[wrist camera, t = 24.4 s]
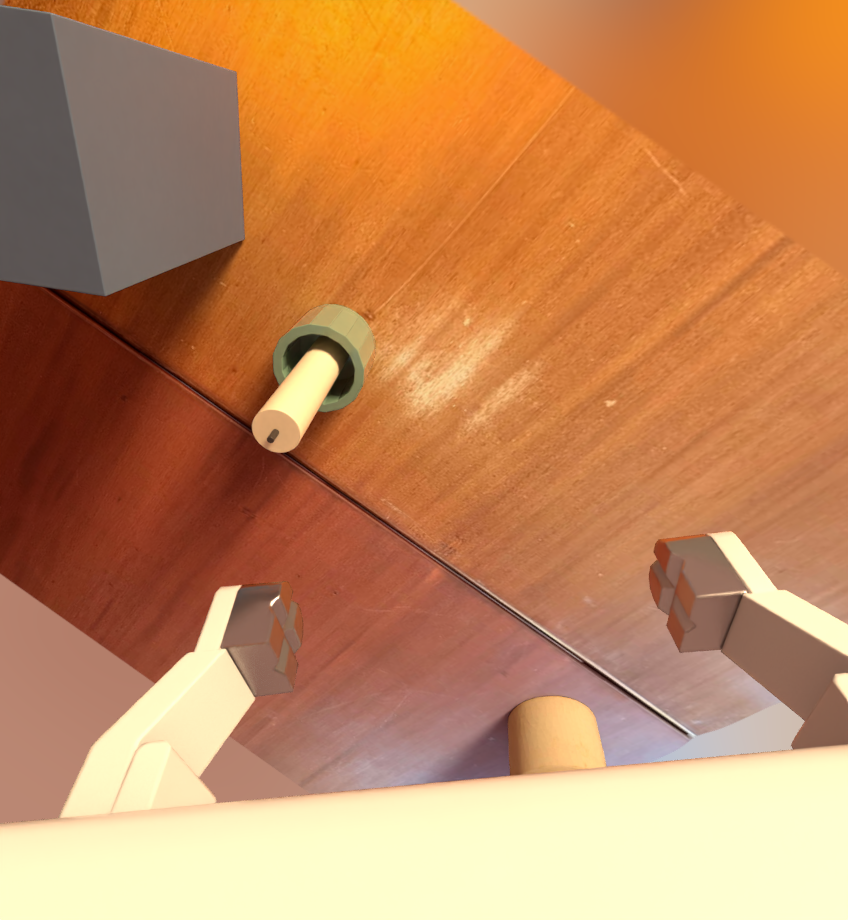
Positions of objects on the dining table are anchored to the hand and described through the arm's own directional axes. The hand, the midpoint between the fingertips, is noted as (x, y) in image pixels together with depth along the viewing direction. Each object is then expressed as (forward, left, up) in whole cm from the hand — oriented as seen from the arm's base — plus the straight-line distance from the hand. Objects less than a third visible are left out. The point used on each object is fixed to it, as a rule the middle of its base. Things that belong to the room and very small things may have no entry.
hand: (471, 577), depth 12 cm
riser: (-5, -22, -31) cm, 38 cm away
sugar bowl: (+53, +21, -31) cm, 65 cm away
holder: (+7, -10, -31) cm, 33 cm away
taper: (+7, -10, -30) cm, 33 cm away
